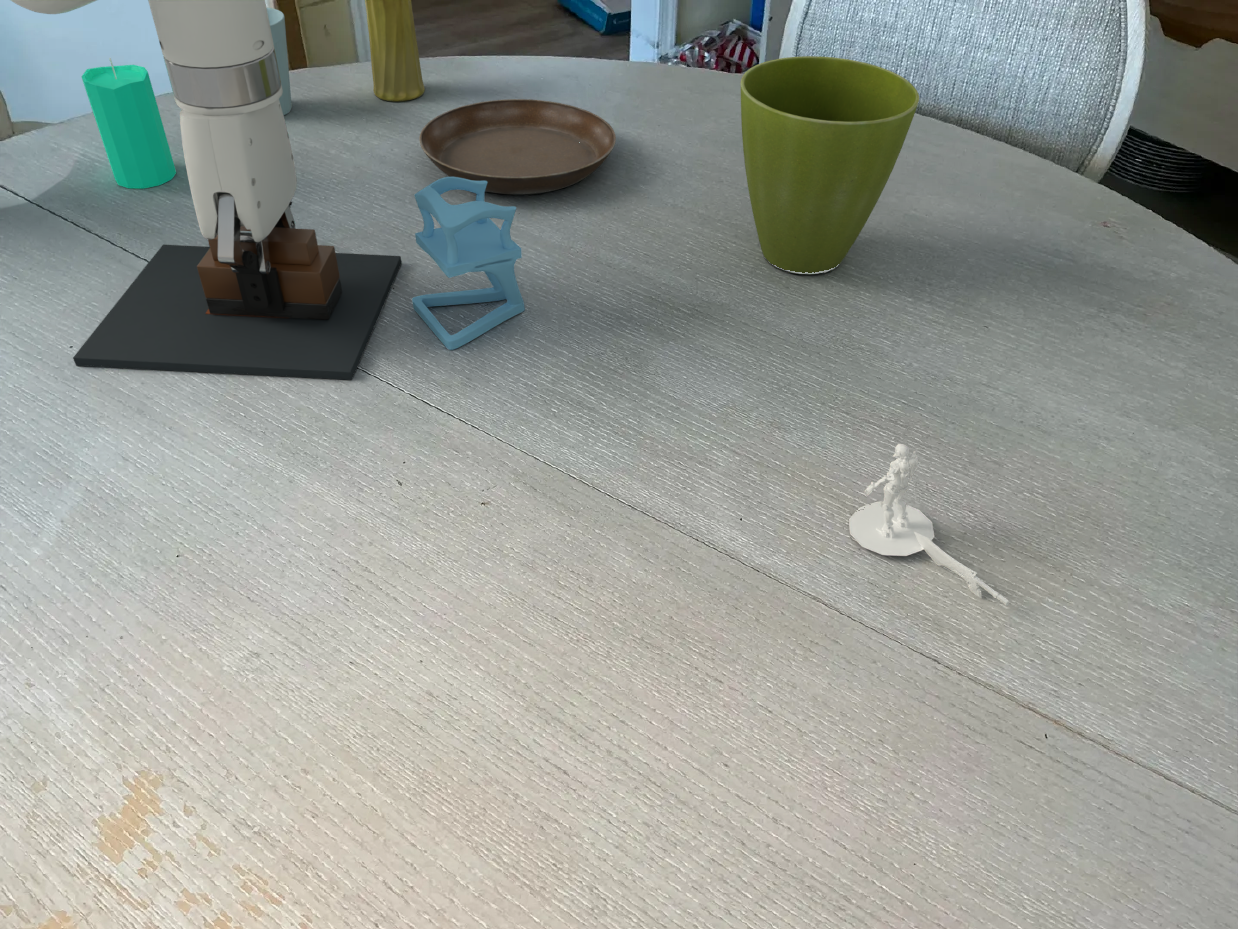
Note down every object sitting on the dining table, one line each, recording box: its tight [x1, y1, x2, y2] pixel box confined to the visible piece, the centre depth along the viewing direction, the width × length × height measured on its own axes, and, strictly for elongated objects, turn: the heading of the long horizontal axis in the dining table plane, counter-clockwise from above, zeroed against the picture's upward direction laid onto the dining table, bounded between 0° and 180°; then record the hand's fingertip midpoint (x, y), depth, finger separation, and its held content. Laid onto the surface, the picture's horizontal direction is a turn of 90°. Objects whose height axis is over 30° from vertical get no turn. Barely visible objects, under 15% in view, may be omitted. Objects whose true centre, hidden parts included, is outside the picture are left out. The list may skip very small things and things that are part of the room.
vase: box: [364, 0, 426, 103], centre depth 118 cm, size 6×6×14 cm
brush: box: [197, 226, 342, 320], centre depth 83 cm, size 10×4×6 cm, turn 87°
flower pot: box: [740, 55, 920, 273], centre depth 90 cm, size 15×15×16 cm
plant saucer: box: [418, 98, 617, 195], centre depth 108 cm, size 21×21×3 cm
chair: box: [411, 176, 526, 351], centre depth 82 cm, size 8×8×12 cm
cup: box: [266, 6, 293, 116], centre depth 115 cm, size 8×8×10 cm
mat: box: [72, 244, 402, 381], centre depth 86 cm, size 22×18×1 cm
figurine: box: [848, 443, 1010, 607], centre depth 64 cm, size 6×12×8 cm, turn 38°
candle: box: [81, 57, 177, 190], centre depth 101 cm, size 6×6×12 cm
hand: (275, 291), depth 85 cm, fingers closed on brush, 4 cm apart
